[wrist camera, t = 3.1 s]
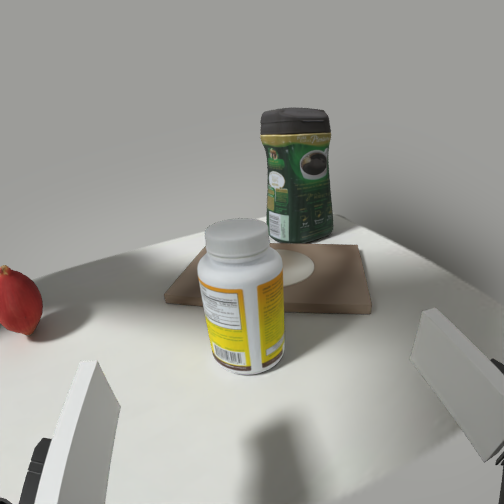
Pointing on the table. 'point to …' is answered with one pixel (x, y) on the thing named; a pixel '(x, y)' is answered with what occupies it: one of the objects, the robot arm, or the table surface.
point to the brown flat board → (301, 280)
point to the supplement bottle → (243, 296)
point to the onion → (19, 302)
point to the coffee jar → (297, 174)
